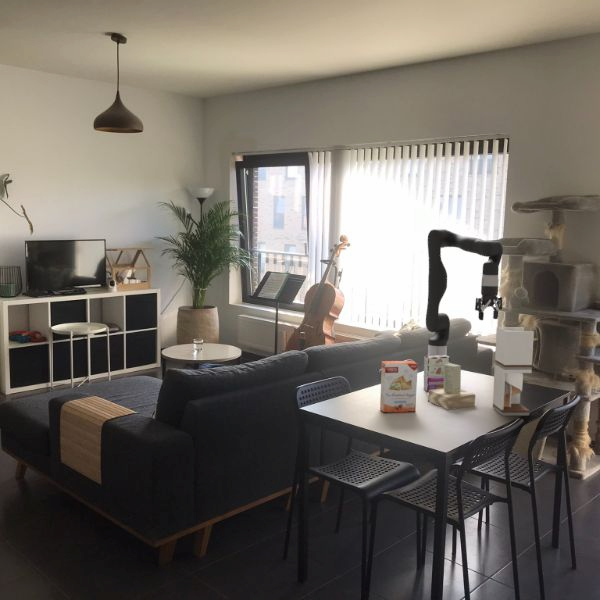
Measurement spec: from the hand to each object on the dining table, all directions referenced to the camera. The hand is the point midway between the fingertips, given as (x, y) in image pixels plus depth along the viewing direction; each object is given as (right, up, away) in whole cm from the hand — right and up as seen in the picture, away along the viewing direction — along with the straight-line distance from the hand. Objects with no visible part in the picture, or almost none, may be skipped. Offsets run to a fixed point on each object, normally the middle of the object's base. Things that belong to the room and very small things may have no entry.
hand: (488, 319), depth 296 cm
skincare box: (-21, -31, -17) cm, 42 cm away
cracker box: (-46, -38, -29) cm, 66 cm away
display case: (+1, -38, -28) cm, 47 cm away
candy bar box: (-23, -34, +5) cm, 41 cm away
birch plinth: (-21, -36, -17) cm, 45 cm away
